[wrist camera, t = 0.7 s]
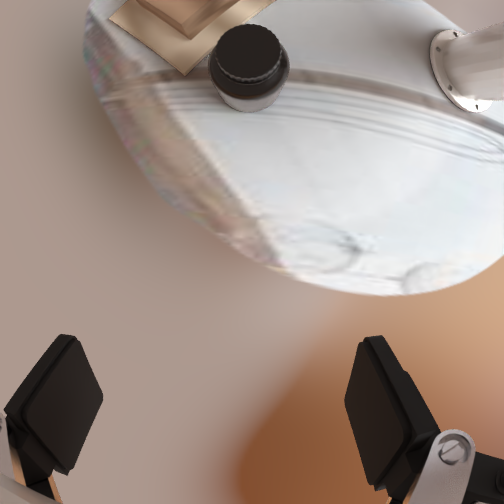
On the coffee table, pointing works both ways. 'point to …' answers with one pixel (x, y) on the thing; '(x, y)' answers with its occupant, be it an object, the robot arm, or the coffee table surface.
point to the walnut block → (187, 13)
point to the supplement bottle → (248, 67)
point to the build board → (176, 44)
